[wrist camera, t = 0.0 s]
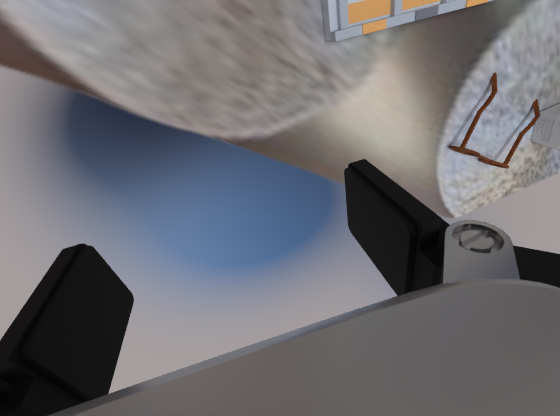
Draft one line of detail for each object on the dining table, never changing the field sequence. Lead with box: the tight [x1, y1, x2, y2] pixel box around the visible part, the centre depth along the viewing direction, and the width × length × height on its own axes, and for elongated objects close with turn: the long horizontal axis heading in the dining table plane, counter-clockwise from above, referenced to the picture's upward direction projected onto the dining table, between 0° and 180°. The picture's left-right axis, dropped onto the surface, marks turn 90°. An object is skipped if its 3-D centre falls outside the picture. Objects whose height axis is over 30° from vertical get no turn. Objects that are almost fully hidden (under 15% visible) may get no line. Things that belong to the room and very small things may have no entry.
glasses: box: [450, 73, 540, 168], centre depth 47 cm, size 13×13×5 cm
